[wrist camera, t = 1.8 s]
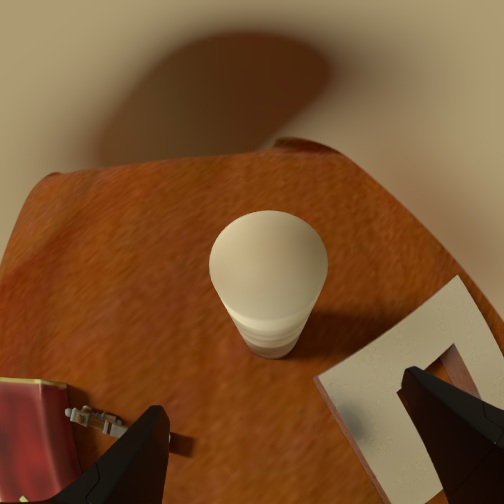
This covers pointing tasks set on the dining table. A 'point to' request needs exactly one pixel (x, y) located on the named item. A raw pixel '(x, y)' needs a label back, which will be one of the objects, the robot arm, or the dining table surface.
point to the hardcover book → (35, 440)
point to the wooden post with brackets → (98, 421)
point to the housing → (389, 382)
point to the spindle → (269, 278)
